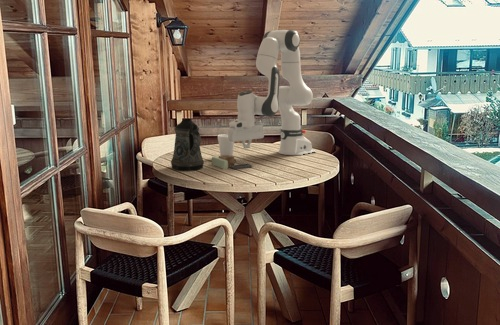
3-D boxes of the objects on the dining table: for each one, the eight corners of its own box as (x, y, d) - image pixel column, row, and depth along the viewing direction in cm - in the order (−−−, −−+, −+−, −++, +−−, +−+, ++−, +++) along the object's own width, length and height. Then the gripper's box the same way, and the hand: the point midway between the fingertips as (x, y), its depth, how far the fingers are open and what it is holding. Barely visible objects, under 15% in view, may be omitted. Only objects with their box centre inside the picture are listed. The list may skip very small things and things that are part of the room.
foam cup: (232, 160, 275) (232, 136, 272) (216, 159, 277) (215, 136, 274) (236, 157, 284) (236, 134, 281) (220, 156, 286) (220, 133, 283)
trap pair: (232, 160, 275) (232, 158, 275) (251, 167, 257) (251, 165, 257) (215, 162, 270) (215, 160, 270) (234, 169, 252) (234, 167, 252)
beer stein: (183, 163, 267) (182, 116, 262) (214, 166, 258) (214, 118, 253) (164, 169, 253) (162, 119, 248) (196, 173, 244) (195, 122, 239)
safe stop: (215, 163, 266) (215, 156, 265) (227, 168, 254) (227, 160, 253) (212, 164, 265) (211, 156, 264) (224, 169, 253) (224, 161, 252)
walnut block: (228, 164, 266) (228, 154, 265) (234, 166, 260) (234, 156, 259) (218, 165, 263) (218, 156, 262) (224, 167, 257) (224, 157, 256)
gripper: (259, 119, 271) (260, 145, 274) (226, 123, 261) (227, 149, 264) (266, 121, 266) (266, 146, 269) (232, 125, 256) (232, 151, 259)
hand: (246, 148), depth 266 cm, fingers closed
